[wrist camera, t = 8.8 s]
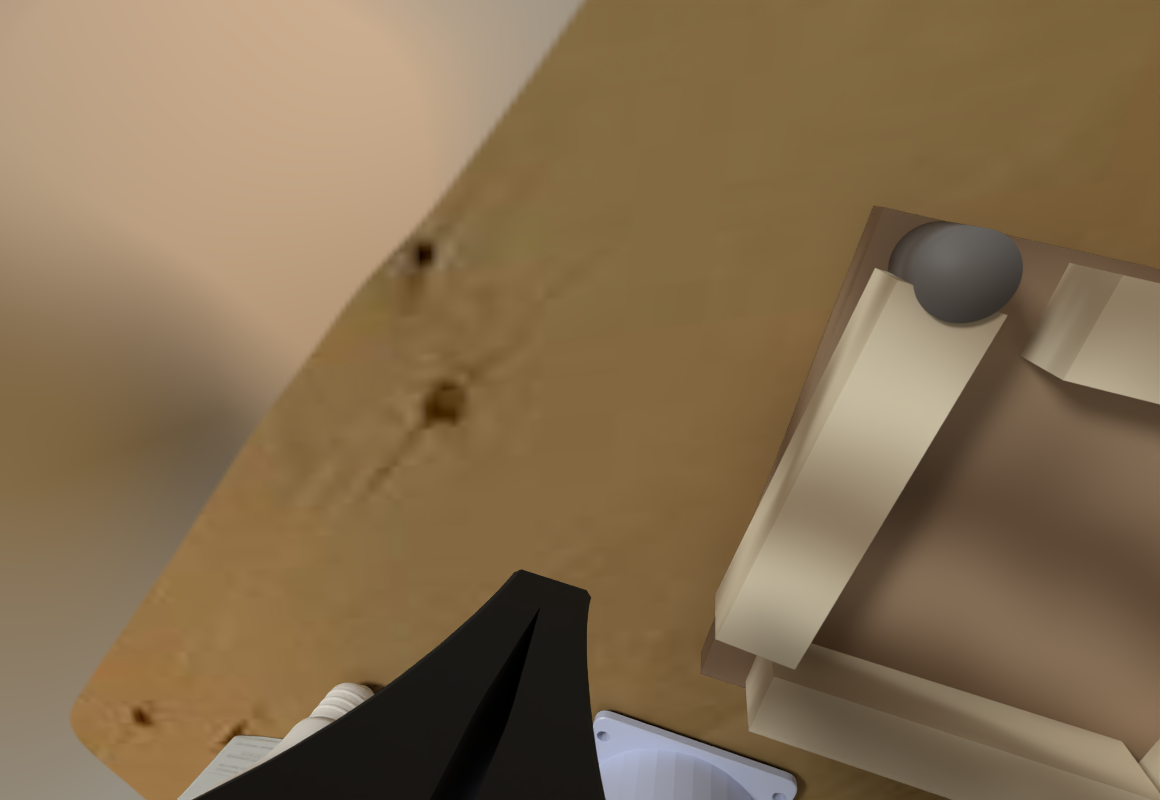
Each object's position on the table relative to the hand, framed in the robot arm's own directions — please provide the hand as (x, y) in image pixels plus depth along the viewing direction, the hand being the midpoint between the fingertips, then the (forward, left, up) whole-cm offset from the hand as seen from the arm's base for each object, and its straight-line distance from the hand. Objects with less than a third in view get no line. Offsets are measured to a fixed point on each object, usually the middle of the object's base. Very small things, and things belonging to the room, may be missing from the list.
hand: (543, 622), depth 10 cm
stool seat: (0, -13, -9) cm, 16 cm away
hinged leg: (+2, -6, -8) cm, 10 cm away
